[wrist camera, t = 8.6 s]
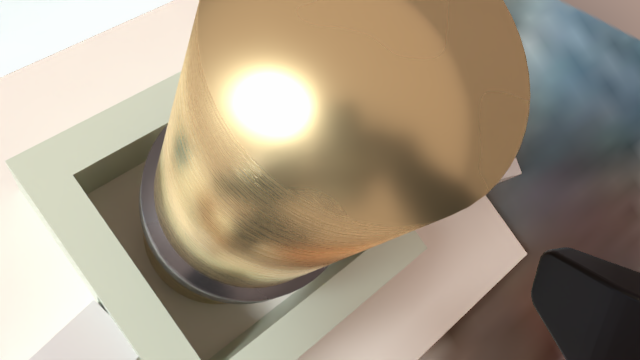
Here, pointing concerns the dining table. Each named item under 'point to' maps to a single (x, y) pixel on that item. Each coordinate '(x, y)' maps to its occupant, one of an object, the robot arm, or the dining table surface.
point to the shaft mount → (128, 244)
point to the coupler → (325, 136)
